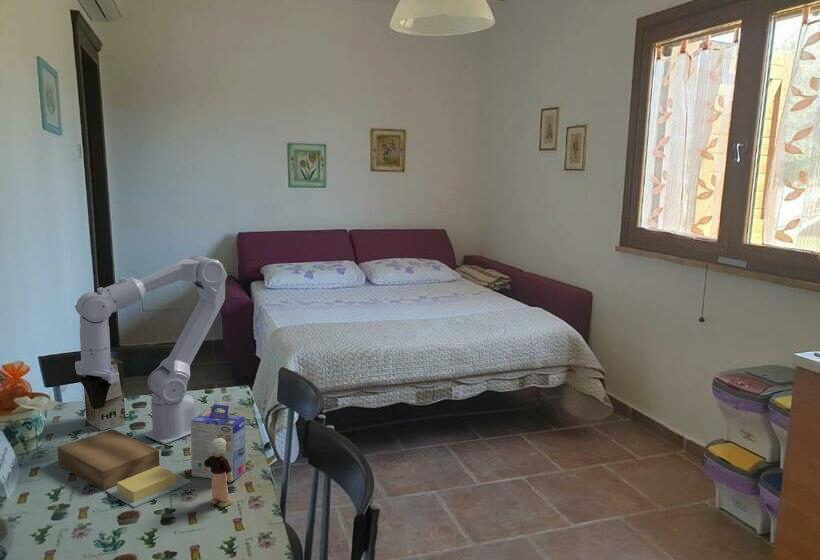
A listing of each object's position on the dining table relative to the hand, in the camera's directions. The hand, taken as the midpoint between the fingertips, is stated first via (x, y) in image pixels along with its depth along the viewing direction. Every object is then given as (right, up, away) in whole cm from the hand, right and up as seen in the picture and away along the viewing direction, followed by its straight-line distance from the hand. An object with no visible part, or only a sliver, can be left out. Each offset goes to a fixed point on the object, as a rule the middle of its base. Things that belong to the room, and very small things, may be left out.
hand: (98, 407), depth 132 cm
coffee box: (-7, -8, +18) cm, 21 cm away
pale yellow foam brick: (+17, -11, -14) cm, 25 cm away
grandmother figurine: (+32, -14, -18) cm, 40 cm away
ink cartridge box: (+29, -13, -7) cm, 32 cm away
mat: (+17, -13, -13) cm, 25 cm away
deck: (+5, -12, -5) cm, 13 cm away
